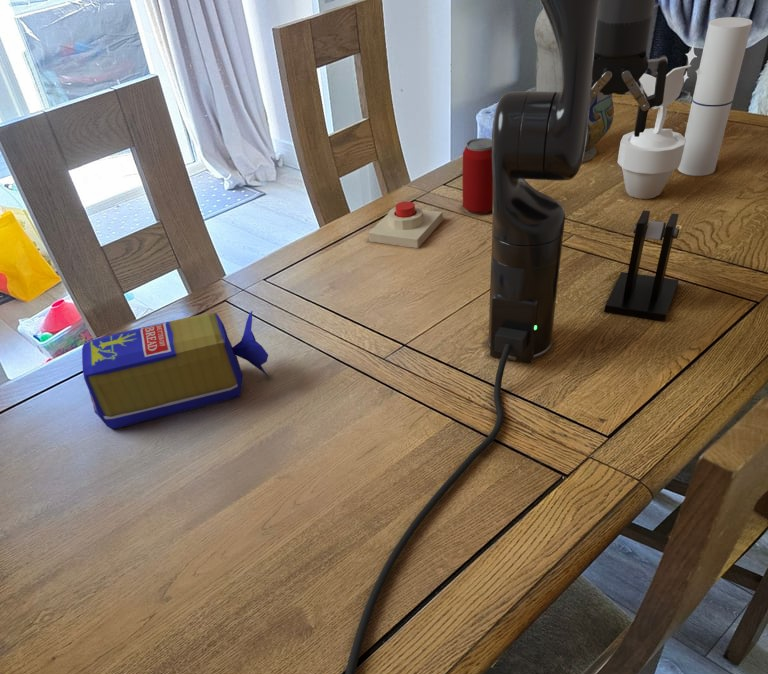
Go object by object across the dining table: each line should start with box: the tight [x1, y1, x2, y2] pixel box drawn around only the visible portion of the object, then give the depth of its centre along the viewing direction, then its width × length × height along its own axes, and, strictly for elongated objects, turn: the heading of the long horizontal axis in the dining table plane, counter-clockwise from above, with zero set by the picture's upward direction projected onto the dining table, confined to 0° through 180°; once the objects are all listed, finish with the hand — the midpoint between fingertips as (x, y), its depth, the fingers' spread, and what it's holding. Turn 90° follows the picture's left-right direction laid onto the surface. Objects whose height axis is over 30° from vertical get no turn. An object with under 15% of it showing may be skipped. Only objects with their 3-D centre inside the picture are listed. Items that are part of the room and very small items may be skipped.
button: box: [394, 201, 416, 218], centre depth 130 cm, size 4×4×2 cm
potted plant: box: [617, 42, 702, 200], centre depth 127 cm, size 13×12×25 cm
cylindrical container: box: [677, 16, 753, 177], centre depth 133 cm, size 7×7×25 cm
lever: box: [645, 220, 680, 241], centre depth 106 cm, size 13×5×2 cm, turn 155°
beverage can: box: [462, 137, 493, 215], centre depth 132 cm, size 7×7×12 cm
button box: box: [368, 205, 444, 249], centre depth 131 cm, size 12×10×4 cm
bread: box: [81, 310, 270, 430], centre depth 97 cm, size 10×25×10 cm, turn 108°
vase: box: [533, 8, 615, 164], centre depth 141 cm, size 18×18×30 cm
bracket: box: [603, 209, 680, 322], centre depth 105 cm, size 11×9×13 cm
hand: (608, 135), depth 109 cm, fingers open, 8 cm apart
